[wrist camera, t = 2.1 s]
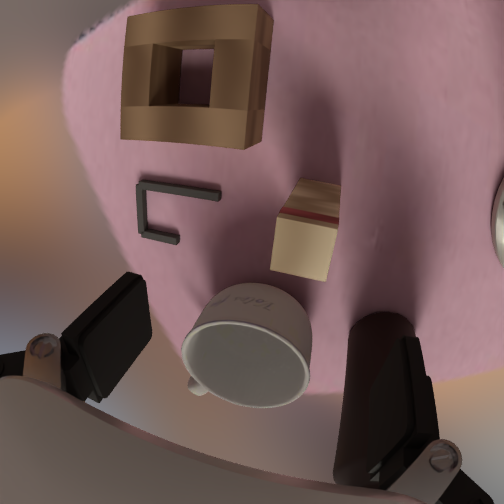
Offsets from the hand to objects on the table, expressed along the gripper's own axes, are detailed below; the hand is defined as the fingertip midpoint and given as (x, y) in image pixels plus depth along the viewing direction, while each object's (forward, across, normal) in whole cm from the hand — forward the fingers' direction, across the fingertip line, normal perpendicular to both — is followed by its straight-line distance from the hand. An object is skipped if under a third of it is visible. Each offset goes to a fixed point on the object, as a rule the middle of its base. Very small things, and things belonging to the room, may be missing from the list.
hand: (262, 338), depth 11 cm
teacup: (+16, +3, +13) cm, 21 cm away
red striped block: (+16, -1, 0) cm, 16 cm away
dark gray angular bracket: (+16, +12, +3) cm, 20 cm away
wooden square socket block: (+16, +9, -9) cm, 21 cm away
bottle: (+16, -10, +12) cm, 22 cm away
